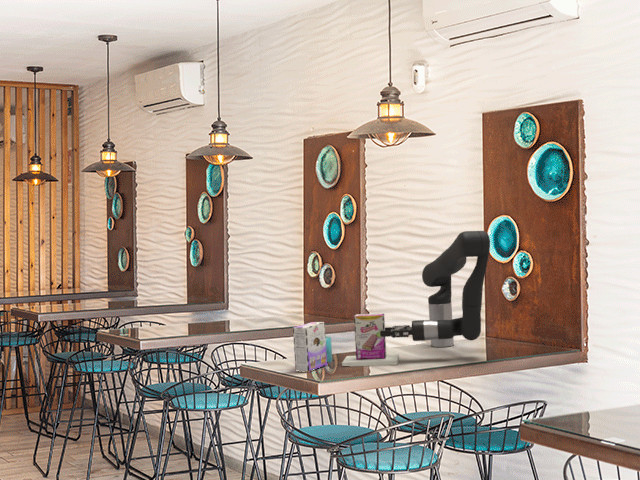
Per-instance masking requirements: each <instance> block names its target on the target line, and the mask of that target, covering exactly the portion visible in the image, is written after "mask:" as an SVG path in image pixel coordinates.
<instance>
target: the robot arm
mask: <svg viewBox="0 0 640 480" xmlns="http://www.w3.org/2000/svg"><path fill="white" fill-rule="evenodd" d="M490 251H491V239H490V236H489V233H488V232H487V231H485V230H465V231H462V232H460V233H459V234H458V235H457V236H456V238H455V239H454V241H453V242H452V243H451V244H450V245H449V246H448V248H446V249H445V250H444V251H443V252H441V254H440V255H439V256H438V257H437V258H436V259H434V260H433V261H431V262H430V263H428V264H426V265H425V266H424V268H423V270H422V274H421V278H422V282H423V283H424V285H425V286H427V287H429V288H436V287H439V290H437V291H436V292H435V293H433V294H431V295H430V296H428V297H427V299H428V302H427V303H428V318H429V319H422V320H421V319H420V320H419V319H418V320H412V321H411V326H410V325H409V324H408V325H406V324H405V325H404V324H403V325H394V326H392V327H391V326H389V327H388V326H387V327H386V326H385V330H383V331H380V336H381V337H385V338H386V337H391V338H393V339H394V338H409V336H411V337H412V338H411V339H412V341H414V342H419V341H420V342H423V341H424V342H426V341H427V342H429V341H430V346H431V347H433V348H445V347H452V346H455V345H454V343H455V340H454V339H455V338H454V337H457V336H463V338H464V339H465V340H467V341H475V340H477V339H478V338H479V337H480V335H481V333H482V331H481V330H482V317H481V316H482V306H483V305H482V303H483V302H482V301H483V289H484V288H483V287H484V280H485V277H486V273H487V272H486V271H487V268H488V267H487V266H488V262H489V261H488V260H489V255H490ZM473 257H474V258H475V257H477V258H476V263H475V266H474V268H473V270H472V272H471V274H470V275H469V277H468V278H467V280H466V282H465V283H464V285H463V288H462V296H461V308H462V309H461V310H462V317H457V318H456V317H455V318H453V310H452V309H453V307H452V306H453V305H452V275H455V274H457V273H459V271H461V270H462V269H463V268H464V267H465V266H466V264H467V258H473Z"/></svg>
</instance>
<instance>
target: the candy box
mask: <svg viewBox="0 0 640 480" xmlns="http://www.w3.org/2000/svg"><path fill="white" fill-rule="evenodd" d="M292 331H293V332H292V333H293V334H292V335H293V348H294V349H293V351H294V365H295V367H294V368H295V371H296V370H299V371H310V370H313V369H317V368H319V369H321V368H320V367H322V368H325V367H327V366H328V363H327V351H326V337H327V335H326V327H325V322H324V321H312V322H308V323H305V324H300V325H297V326H293V327H292ZM317 370H318V369H317Z"/></svg>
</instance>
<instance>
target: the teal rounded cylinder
mask: <svg viewBox="0 0 640 480" xmlns="http://www.w3.org/2000/svg"><path fill="white" fill-rule="evenodd" d="M332 349H333V347H332V337H331V336H326V351H327V362H328V363H332V362H333V351H332Z"/></svg>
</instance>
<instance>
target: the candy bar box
mask: <svg viewBox="0 0 640 480" xmlns="http://www.w3.org/2000/svg"><path fill="white" fill-rule="evenodd" d="M385 318H386V317H385V313H362V314H360V313H358V314H354V316H353V320H354V339H355V340H354V341H355V356H356V359H384V358H386V355H387V342H386V341H387V339H386V337H381V336H380V331H383V330H385V327H386V323H385V322H386V321H385Z"/></svg>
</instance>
